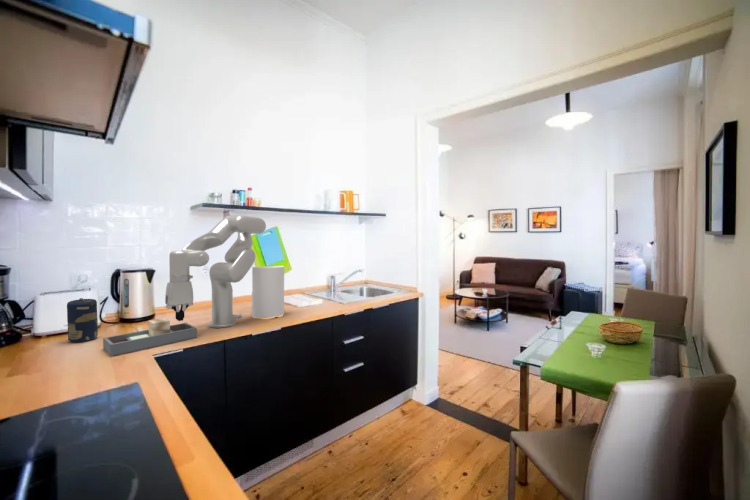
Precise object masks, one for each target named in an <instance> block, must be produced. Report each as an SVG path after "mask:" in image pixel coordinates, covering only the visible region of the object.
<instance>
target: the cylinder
mask: <svg viewBox="0 0 750 500" xmlns="http://www.w3.org/2000/svg"><path fill="white" fill-rule="evenodd" d="M251 268H252V269H251V270H252V272H251V273H252V274H251V275H252V278H251V279H252V281H251V283H252V285H251V288H252V291H251V317H252V316H253V317H256V318H267V317H273V316H279V315H282V314H284V315H285V265H271V266H269V265H268V266H267V265H265V266H252V267H251ZM253 317H252V318H253Z"/></svg>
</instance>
